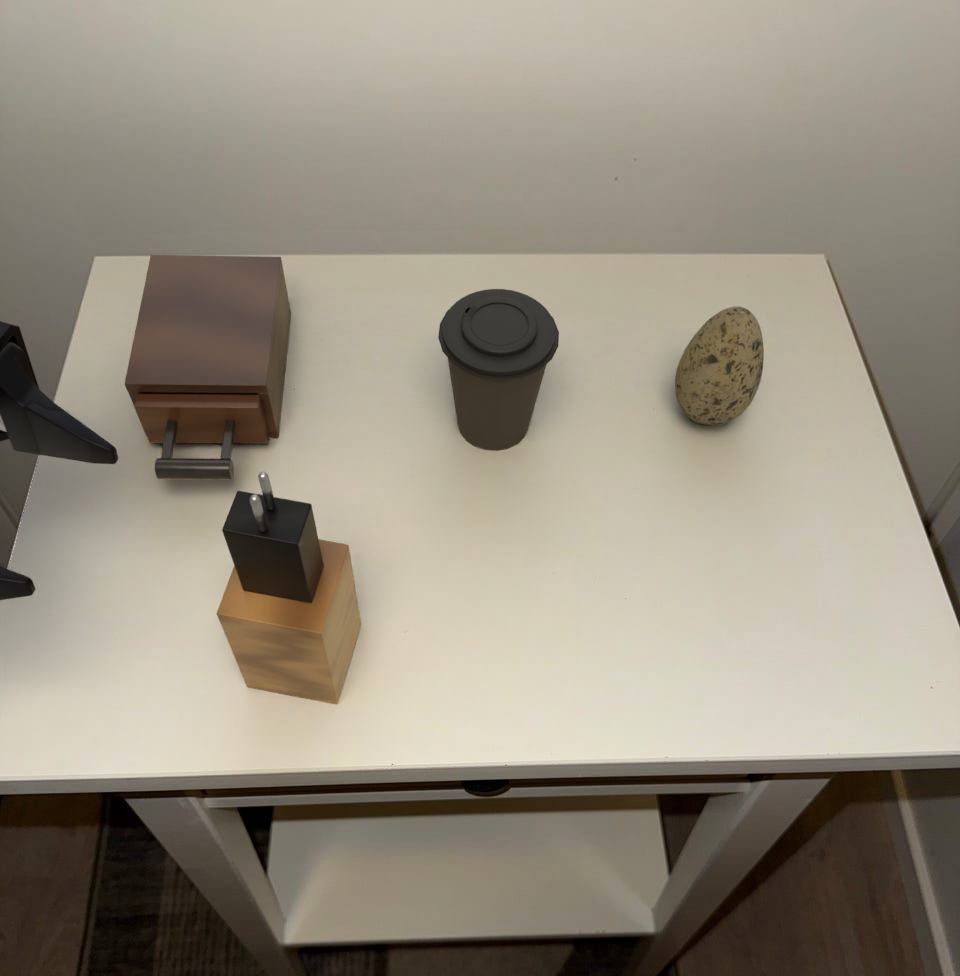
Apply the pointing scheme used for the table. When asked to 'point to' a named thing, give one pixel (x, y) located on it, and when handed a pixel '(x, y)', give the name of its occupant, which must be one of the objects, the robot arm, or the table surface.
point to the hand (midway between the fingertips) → (76, 518)
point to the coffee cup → (497, 363)
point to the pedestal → (296, 632)
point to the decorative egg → (721, 368)
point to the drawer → (200, 429)
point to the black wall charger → (274, 544)
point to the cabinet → (213, 329)
